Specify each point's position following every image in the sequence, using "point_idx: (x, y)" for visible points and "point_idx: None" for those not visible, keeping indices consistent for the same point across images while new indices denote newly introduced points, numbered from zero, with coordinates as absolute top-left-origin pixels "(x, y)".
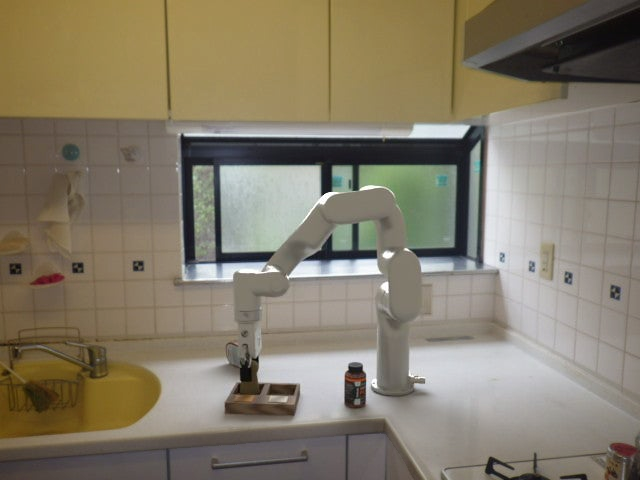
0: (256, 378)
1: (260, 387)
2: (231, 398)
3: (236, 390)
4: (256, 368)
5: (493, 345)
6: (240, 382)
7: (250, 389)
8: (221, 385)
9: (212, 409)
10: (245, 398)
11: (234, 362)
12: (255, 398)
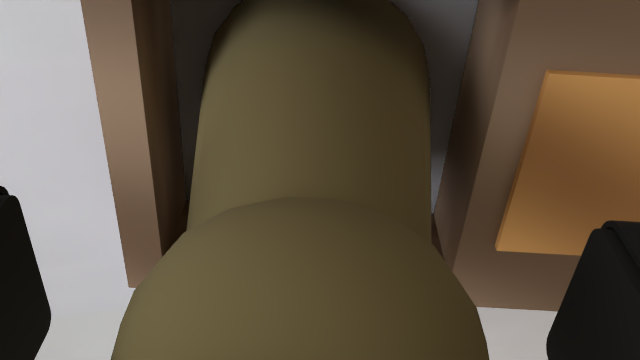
0: (349, 145)
1: (149, 20)
2: (557, 279)
3: None
4: (418, 275)
5: None
6: (137, 255)
7: (427, 146)
8: (51, 333)
9: (499, 325)
10: (612, 160)
11: None
12: (624, 46)
